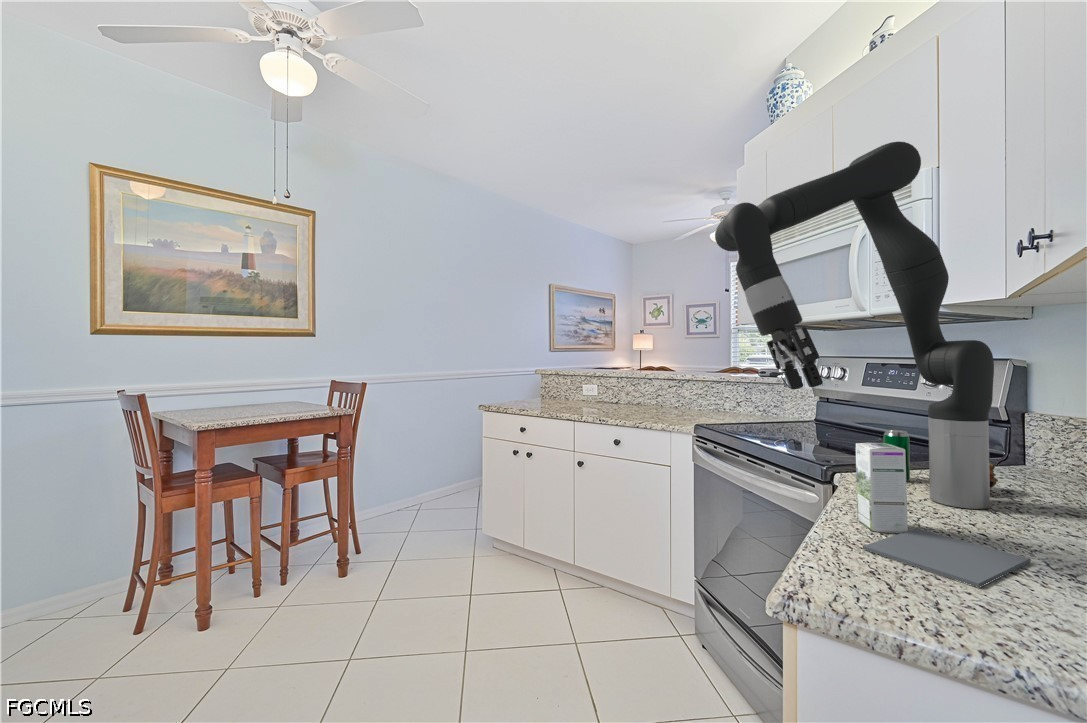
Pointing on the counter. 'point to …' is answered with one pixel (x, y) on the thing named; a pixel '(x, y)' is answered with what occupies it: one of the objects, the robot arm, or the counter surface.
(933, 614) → the counter surface
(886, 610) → the counter surface
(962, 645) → the counter surface
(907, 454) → the soda can
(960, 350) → the robot arm
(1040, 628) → the counter surface
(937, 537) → the mat
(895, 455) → the syrup box
